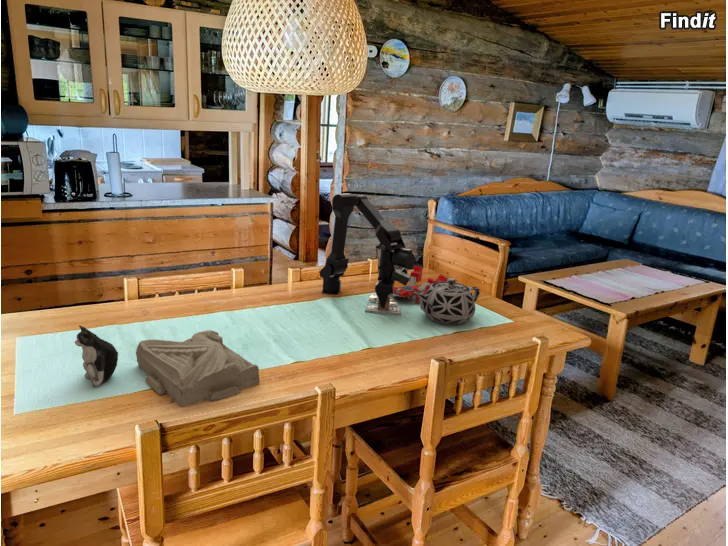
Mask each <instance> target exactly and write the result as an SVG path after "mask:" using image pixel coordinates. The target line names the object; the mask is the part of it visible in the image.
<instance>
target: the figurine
mask: <svg viewBox="0 0 728 546" xmlns="http://www.w3.org/2000/svg"><path fill="white" fill-rule="evenodd" d="M78 327H79V329H80V332H78V333H77V334H76V340H75V341H74V344H75V345H76V346H78V347H81V349H82V353H81V358H82V360H83V362H82V367H83V369H84V370H85V373H84V377H85V378H86V379H90V380H91V381H92V386H93V387H94V388H97V387H99V386H101V384H103V383H104V382H106V381H108V380H109V379H110V378H111V377H112V376H113V374H114V373H115V370H116V368H117V366H118V360H119V352H118V351H117V348H116V347H115V346H114V345H113V343H110V342H108V341H107V340H104V339H102V338H100V336H98V335H97V334H96V333H94V332H92V331H91V330H89V329H88V328H86V327H85V326H82V325H80V324H79V325H78Z"/></svg>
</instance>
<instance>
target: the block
mask: <svg viewBox="0 0 728 546" xmlns="http://www.w3.org/2000/svg"><path fill="white" fill-rule="evenodd" d="M391 295H392V294H390V295H389V296H388V297H387V301H386V304H385V308H381V305H380V302H379V300H378V303H377V305H378V309H380V310H389V306H390V297H391Z"/></svg>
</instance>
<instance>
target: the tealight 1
mask: <svg viewBox="0 0 728 546" xmlns="http://www.w3.org/2000/svg"><path fill="white" fill-rule="evenodd" d="M378 300H379V299H378V297H377V294H376V295H375V294H372V295H369V297H368V302H369V301H370V303H372V302H375V303H374V304H377V303H376V302H378Z"/></svg>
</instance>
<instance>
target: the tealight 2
mask: <svg viewBox="0 0 728 546" xmlns="http://www.w3.org/2000/svg"><path fill="white" fill-rule="evenodd" d="M389 307H399V302H398V301H396V300H395V301H390V306H389Z"/></svg>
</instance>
